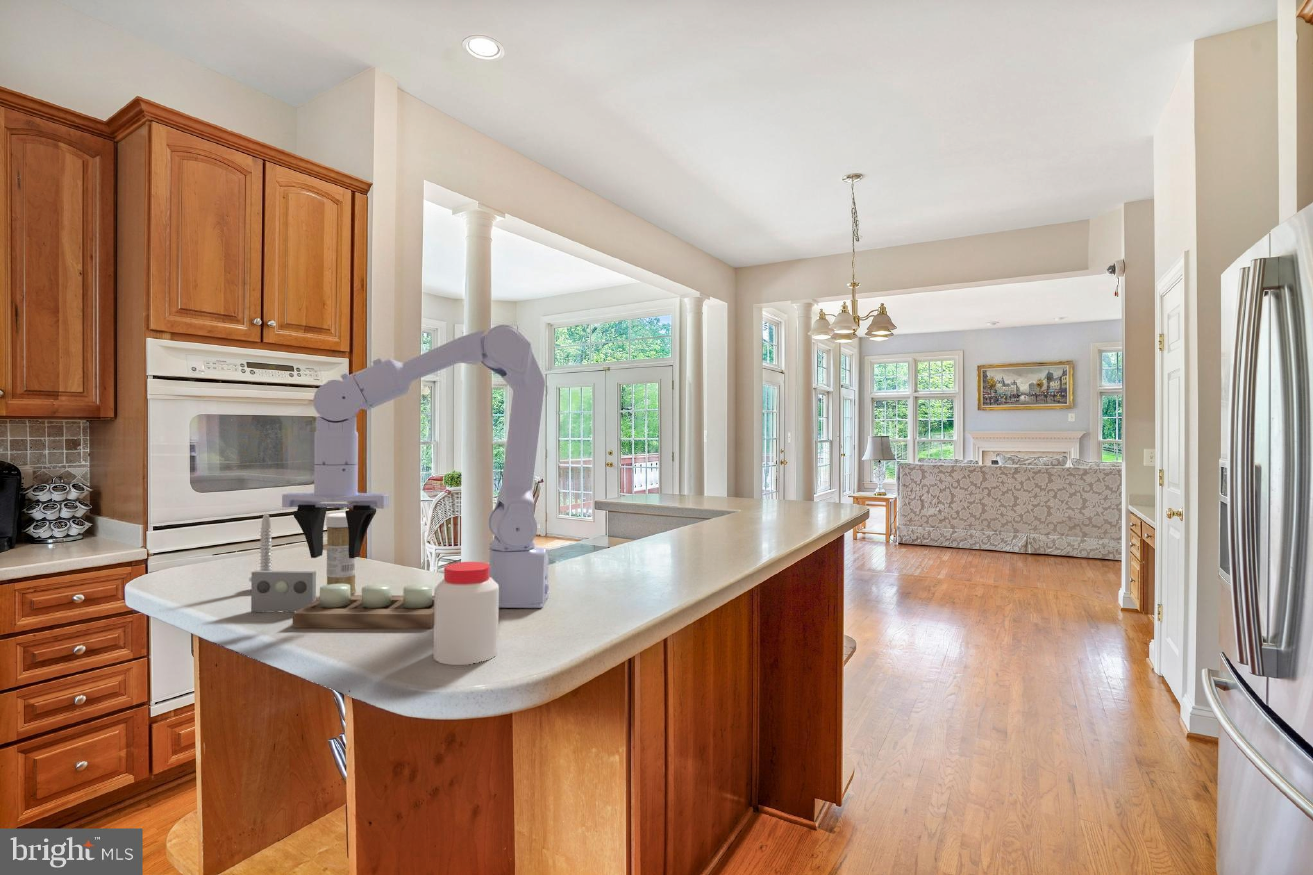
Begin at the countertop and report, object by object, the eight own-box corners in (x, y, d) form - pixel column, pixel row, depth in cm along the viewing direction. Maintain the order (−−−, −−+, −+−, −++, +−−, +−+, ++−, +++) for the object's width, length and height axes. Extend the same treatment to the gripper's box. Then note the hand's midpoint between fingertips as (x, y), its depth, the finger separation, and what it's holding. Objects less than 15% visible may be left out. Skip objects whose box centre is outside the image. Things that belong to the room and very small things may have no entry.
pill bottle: (436, 669, 75) (437, 575, 75) (430, 647, 82) (431, 562, 82) (503, 660, 78) (504, 570, 78) (492, 640, 85) (493, 558, 85)
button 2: (435, 600, 97) (435, 584, 97) (427, 608, 93) (427, 590, 93) (408, 600, 97) (409, 584, 96) (399, 608, 93) (399, 590, 92)
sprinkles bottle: (351, 589, 110) (352, 511, 110) (359, 595, 107) (360, 514, 107) (322, 593, 107) (323, 513, 107) (329, 599, 104) (329, 516, 104)
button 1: (354, 600, 96) (354, 583, 96) (342, 607, 92) (342, 590, 92) (327, 600, 96) (327, 583, 96) (314, 607, 92) (314, 590, 92)
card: (315, 610, 98) (315, 571, 97) (311, 612, 96) (312, 572, 96) (255, 610, 97) (255, 570, 97) (250, 612, 96) (250, 572, 96)
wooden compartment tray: (451, 608, 100) (451, 595, 100) (430, 628, 90) (431, 614, 90) (326, 607, 99) (327, 594, 99) (292, 627, 89) (292, 613, 89)
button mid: (395, 600, 96) (395, 584, 96) (385, 607, 92) (385, 590, 92) (368, 600, 96) (368, 583, 96) (356, 607, 92) (356, 590, 92)
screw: (266, 585, 113) (288, 587, 111) (241, 591, 108) (264, 594, 107) (266, 510, 112) (289, 512, 111) (242, 514, 108) (265, 515, 106)
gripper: (270, 465, 90) (269, 561, 90) (375, 466, 90) (374, 562, 90) (296, 462, 97) (296, 552, 97) (394, 463, 97) (393, 553, 97)
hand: (335, 556), depth 94 cm, fingers open, 5 cm apart
